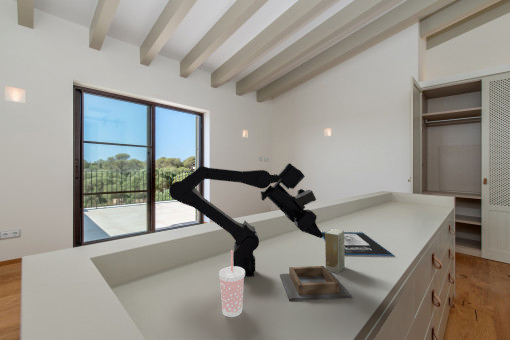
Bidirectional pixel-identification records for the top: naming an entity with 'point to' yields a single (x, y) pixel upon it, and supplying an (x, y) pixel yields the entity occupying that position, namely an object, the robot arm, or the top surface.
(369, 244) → the sketchbook
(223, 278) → the beverage cup
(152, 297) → the top surface
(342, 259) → the skincare box
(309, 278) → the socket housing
